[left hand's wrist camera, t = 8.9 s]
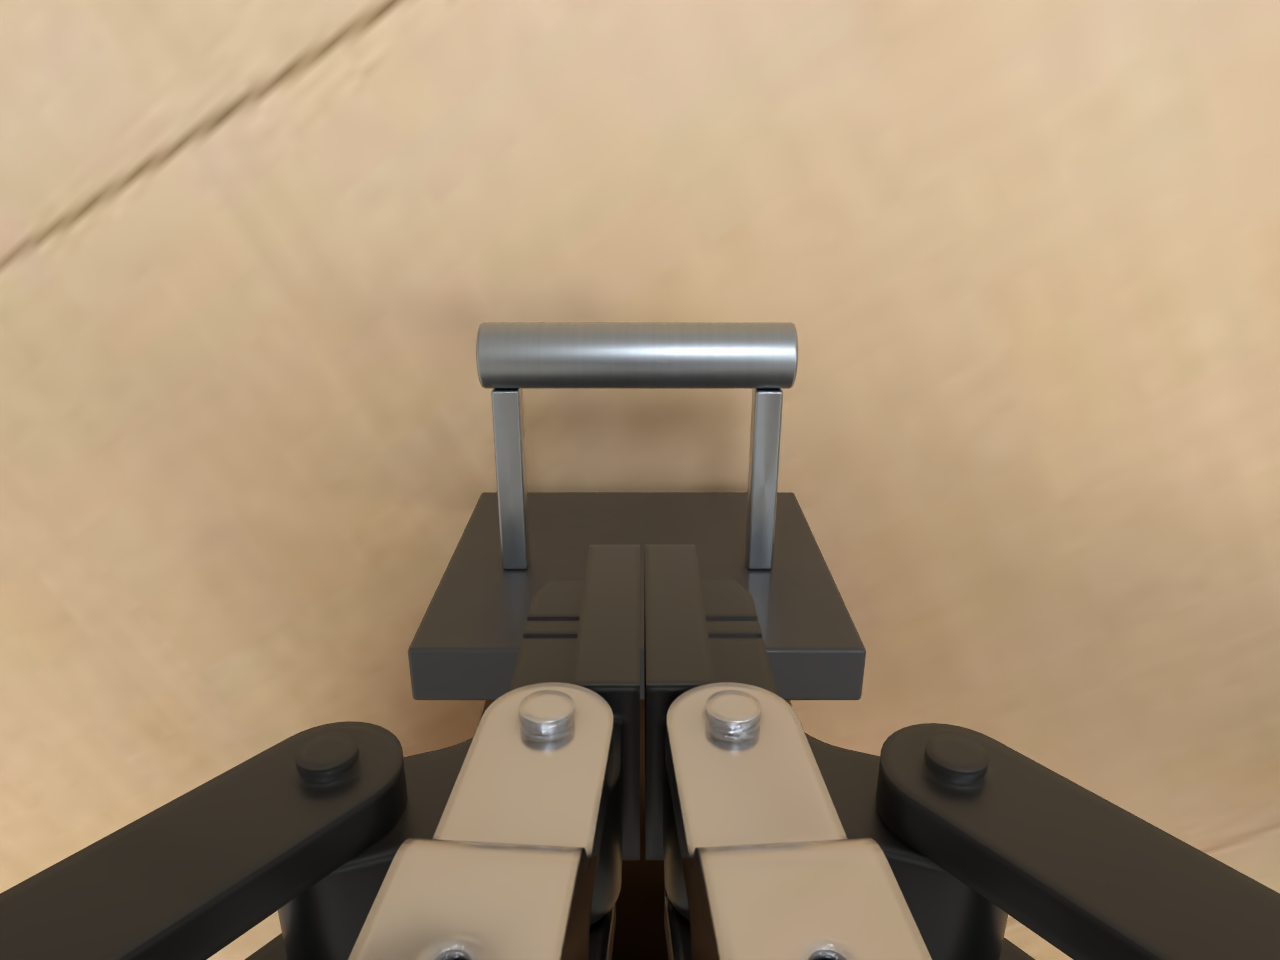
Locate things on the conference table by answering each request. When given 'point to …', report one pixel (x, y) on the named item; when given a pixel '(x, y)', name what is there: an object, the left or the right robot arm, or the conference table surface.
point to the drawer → (635, 537)
